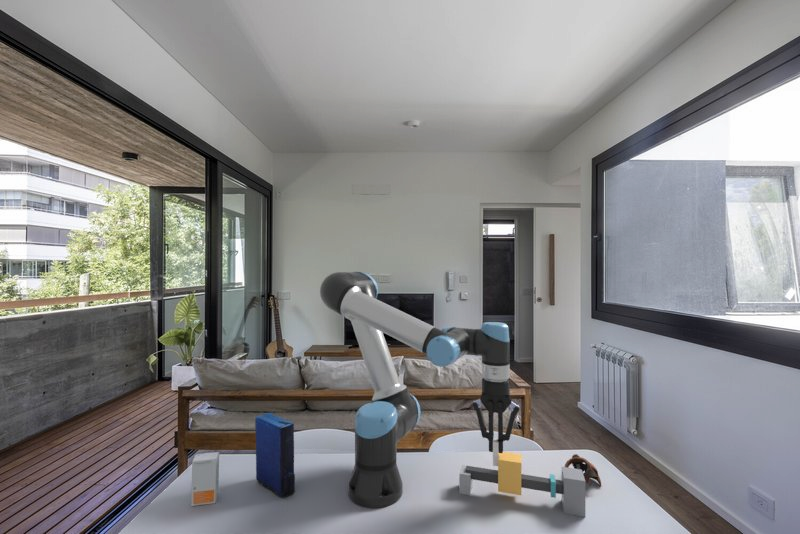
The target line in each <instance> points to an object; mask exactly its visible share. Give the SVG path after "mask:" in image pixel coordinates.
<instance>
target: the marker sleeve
mask: <svg viewBox="0 0 800 534" xmlns="http://www.w3.org/2000/svg"><path fill="white" fill-rule="evenodd" d="M497 470H498V484H497V486H498V487H497V492H498V493H504V494H511V495H516V496H522V488H521V474H522V453H513V452H506V451H503V453H499V458H498V466H497Z"/></svg>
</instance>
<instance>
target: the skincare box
mask: <svg viewBox="0 0 800 534" xmlns="http://www.w3.org/2000/svg"><path fill="white" fill-rule="evenodd" d="M191 465H192V466H191V468H192V469H191V493H190V494H191V497H190V498H191V500H190V502H191V503H190V505H191V507H195V506H202V505H212V504H216V502H217V500H218V497H219V483H220V481H219V478H220V475H219V474H220V451H214V452H205V453H197V454H195V455H194V457H193V459H192V461H191Z"/></svg>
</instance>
